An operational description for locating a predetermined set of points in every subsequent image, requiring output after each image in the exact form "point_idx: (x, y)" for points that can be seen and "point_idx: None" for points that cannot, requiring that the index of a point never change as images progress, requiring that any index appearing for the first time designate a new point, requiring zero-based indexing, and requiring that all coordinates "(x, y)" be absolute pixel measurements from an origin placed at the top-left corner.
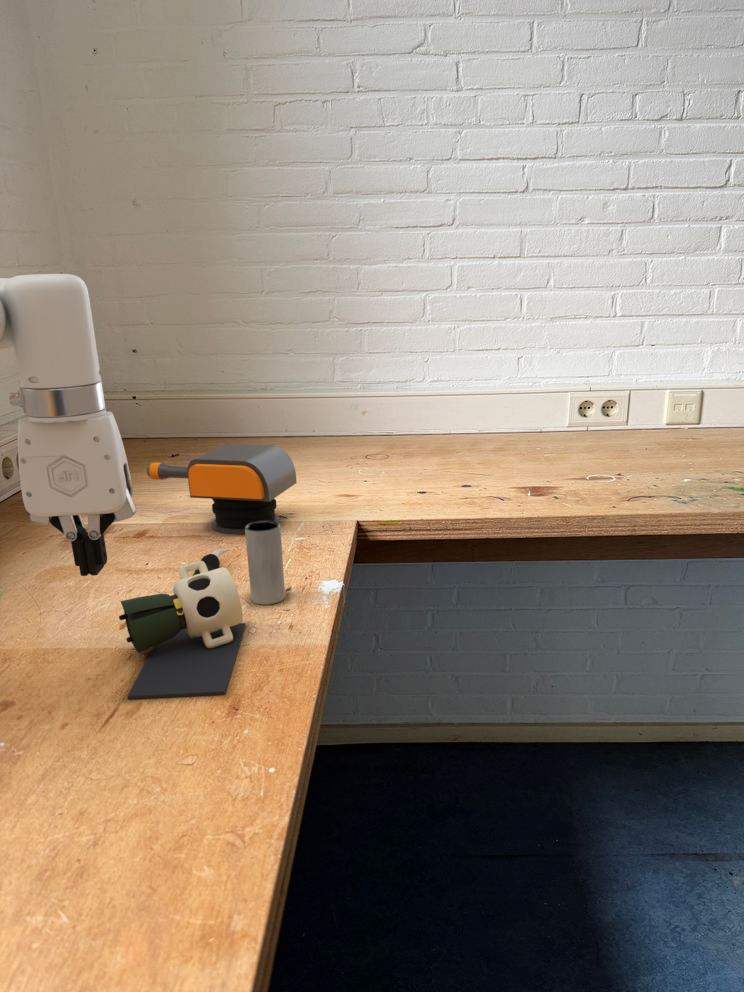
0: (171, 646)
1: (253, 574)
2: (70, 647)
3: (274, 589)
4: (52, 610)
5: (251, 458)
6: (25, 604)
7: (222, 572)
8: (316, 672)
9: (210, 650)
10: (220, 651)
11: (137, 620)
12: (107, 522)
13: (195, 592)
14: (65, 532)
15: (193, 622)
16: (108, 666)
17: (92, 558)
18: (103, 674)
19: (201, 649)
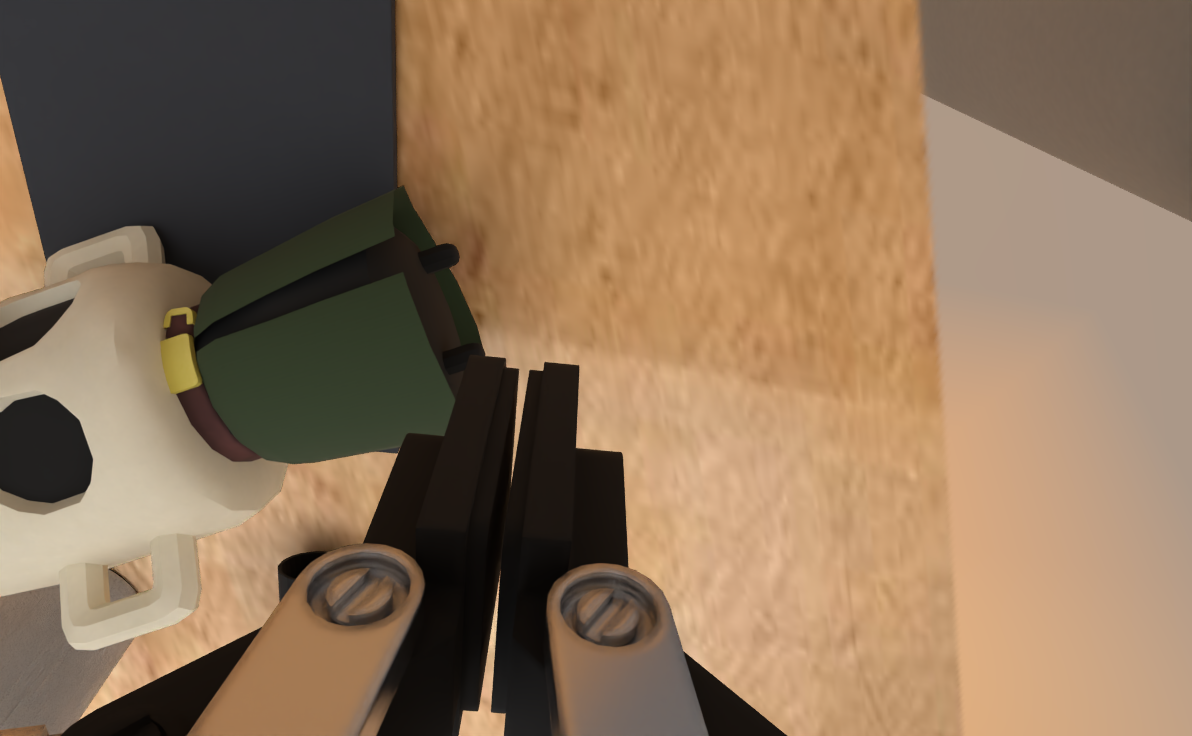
0: None
1: (41, 662)
2: (721, 378)
3: (2, 600)
4: (818, 648)
5: None
6: (908, 699)
7: None
8: None
9: (145, 217)
10: (98, 199)
11: (353, 246)
12: (153, 716)
13: (46, 380)
14: (663, 643)
15: (129, 267)
16: (547, 189)
17: (454, 423)
18: (554, 120)
19: (187, 234)
